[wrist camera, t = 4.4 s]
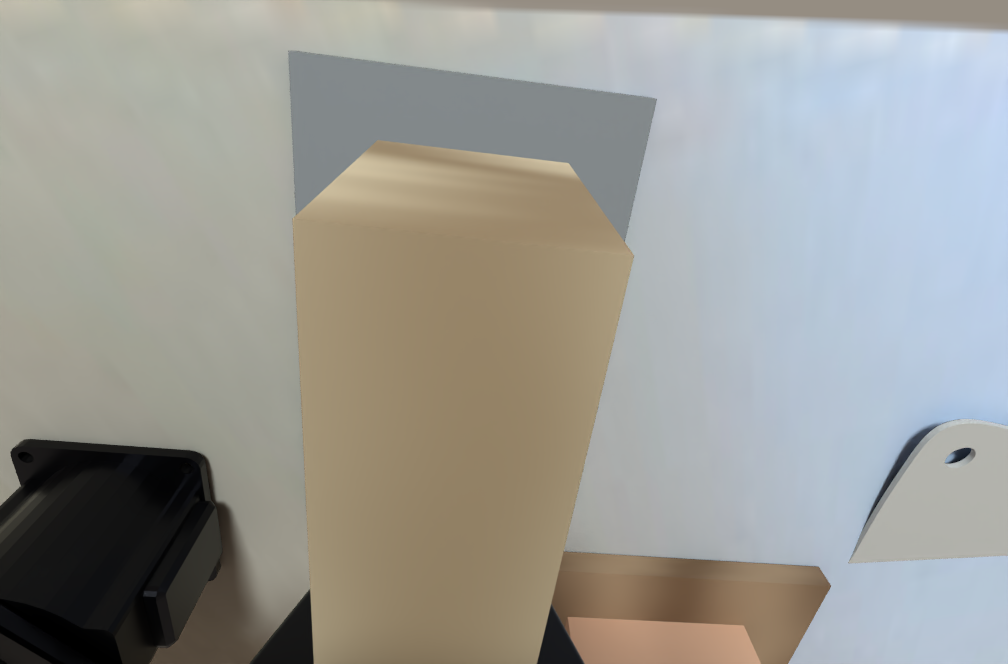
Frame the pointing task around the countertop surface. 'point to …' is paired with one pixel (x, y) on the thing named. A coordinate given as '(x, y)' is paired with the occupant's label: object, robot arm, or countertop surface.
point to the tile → (659, 642)
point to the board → (695, 595)
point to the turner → (447, 397)
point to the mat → (463, 123)
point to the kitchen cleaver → (944, 499)
